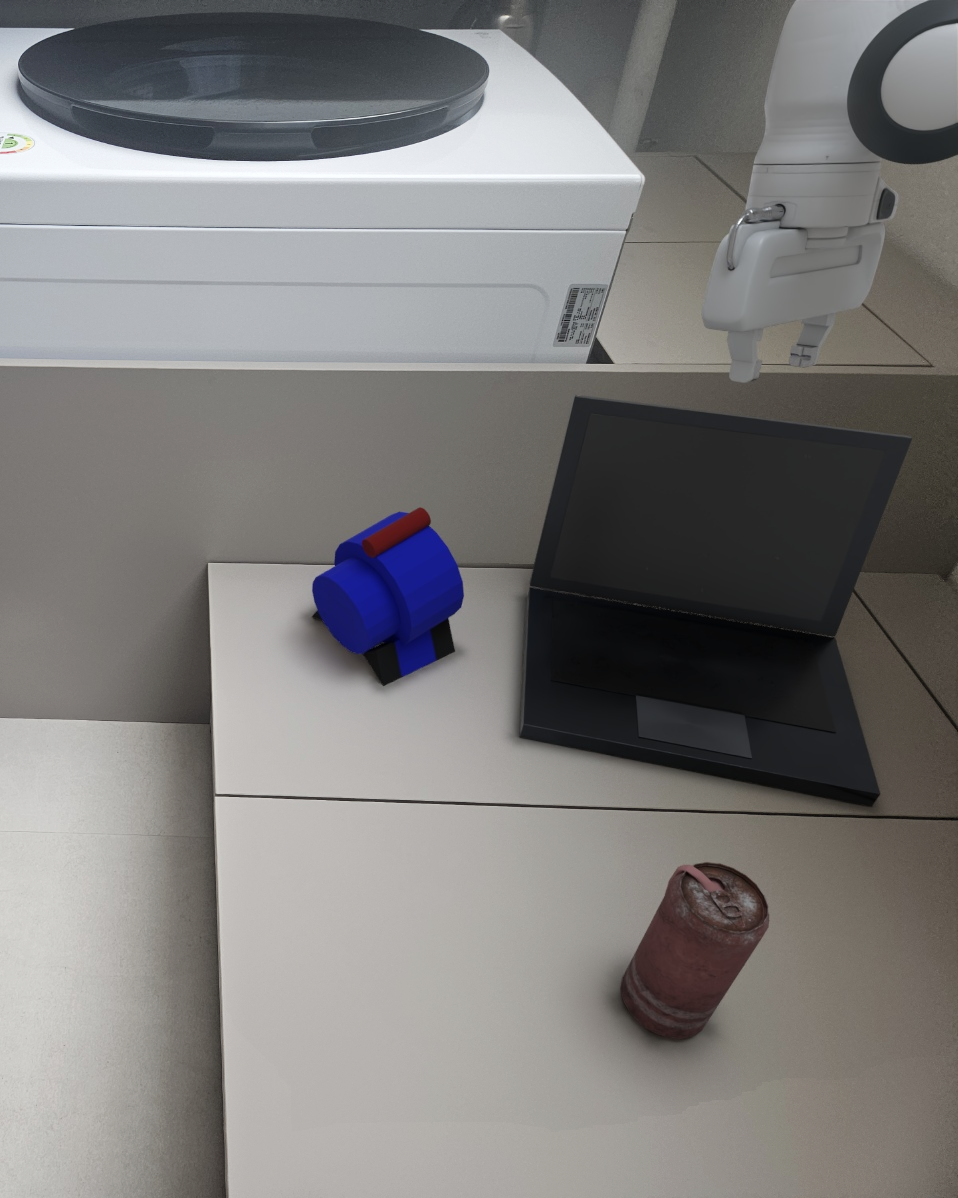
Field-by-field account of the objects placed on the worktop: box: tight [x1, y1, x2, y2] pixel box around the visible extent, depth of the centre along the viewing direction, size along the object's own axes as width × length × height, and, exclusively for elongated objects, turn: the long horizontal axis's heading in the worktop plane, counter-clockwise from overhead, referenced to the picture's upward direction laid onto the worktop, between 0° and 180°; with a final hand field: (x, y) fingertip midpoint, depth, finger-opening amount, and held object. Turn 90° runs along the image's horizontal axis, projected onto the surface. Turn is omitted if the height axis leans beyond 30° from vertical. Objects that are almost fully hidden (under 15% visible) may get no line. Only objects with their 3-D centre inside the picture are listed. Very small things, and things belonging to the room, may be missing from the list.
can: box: [620, 861, 770, 1040], centre depth 73 cm, size 6×6×14 cm
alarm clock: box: [311, 507, 465, 687], centre depth 105 cm, size 12×12×15 cm
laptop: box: [519, 586, 881, 807], centre depth 102 cm, size 21×30×2 cm
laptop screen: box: [529, 394, 913, 638], centre depth 105 cm, size 21×30×1 cm
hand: (773, 373), depth 89 cm, fingers open, 8 cm apart
